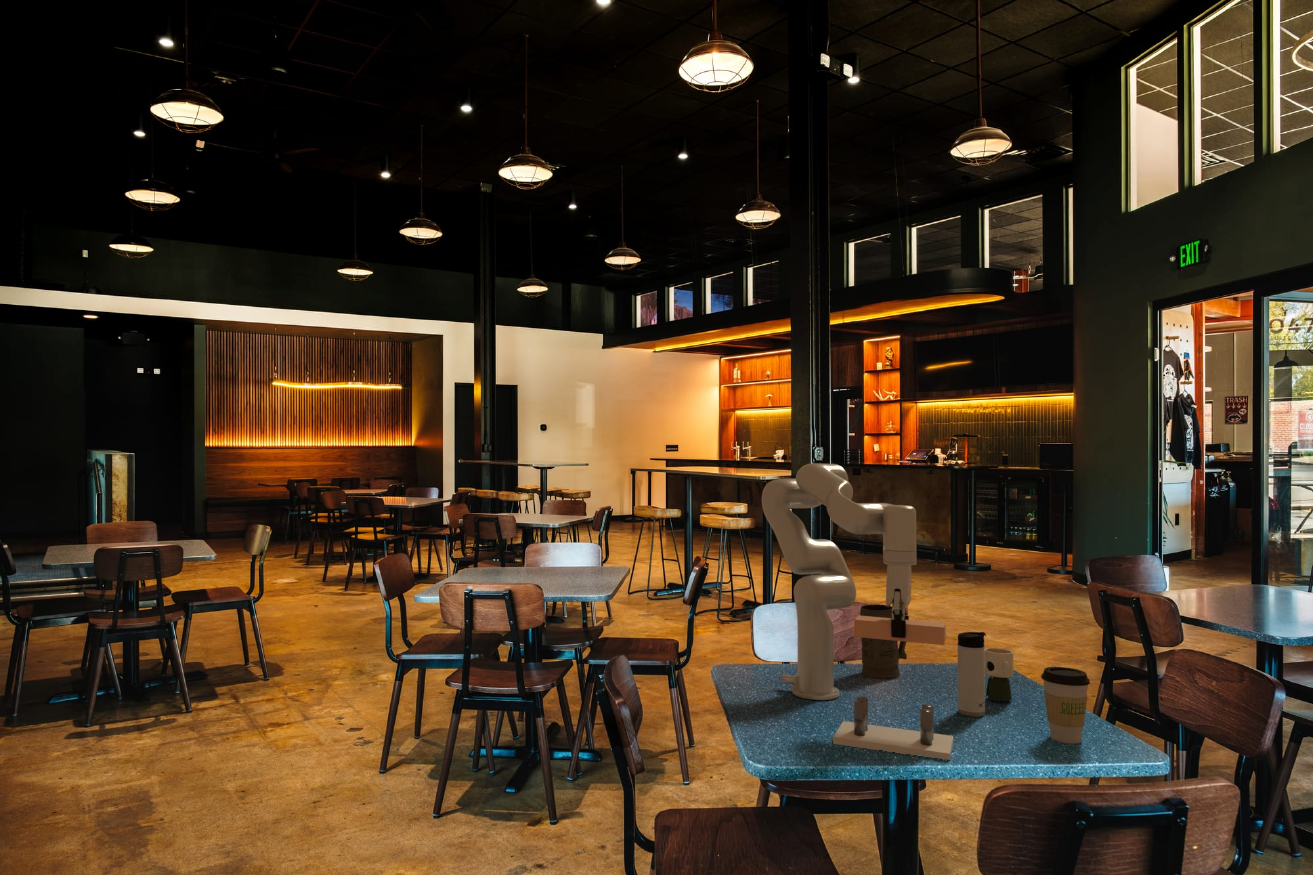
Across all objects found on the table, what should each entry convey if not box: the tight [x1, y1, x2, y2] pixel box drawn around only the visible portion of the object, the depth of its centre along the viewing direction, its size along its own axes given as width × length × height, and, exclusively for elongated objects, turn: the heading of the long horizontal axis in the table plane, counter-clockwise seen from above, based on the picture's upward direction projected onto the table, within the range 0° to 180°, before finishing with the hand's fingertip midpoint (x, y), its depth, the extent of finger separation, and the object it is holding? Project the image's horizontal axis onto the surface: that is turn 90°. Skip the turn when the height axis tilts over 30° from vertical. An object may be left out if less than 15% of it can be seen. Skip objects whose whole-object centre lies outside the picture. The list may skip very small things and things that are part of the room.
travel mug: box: [957, 631, 987, 718], centre depth 196 cm, size 6×7×20 cm
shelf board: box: [853, 615, 947, 646], centre depth 186 cm, size 20×6×4 cm, turn 67°
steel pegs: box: [853, 696, 935, 746], centre depth 174 cm, size 16×6×7 cm, turn 66°
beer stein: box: [859, 604, 908, 679], centre depth 234 cm, size 15×11×20 cm
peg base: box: [832, 721, 954, 760], centre depth 174 cm, size 24×12×2 cm, turn 66°
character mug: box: [984, 647, 1014, 703], centre depth 207 cm, size 11×7×13 cm, turn 179°
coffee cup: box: [1040, 666, 1091, 744], centre depth 178 cm, size 10×10×15 cm
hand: (900, 633), depth 186 cm, fingers closed on shelf board, 6 cm apart
